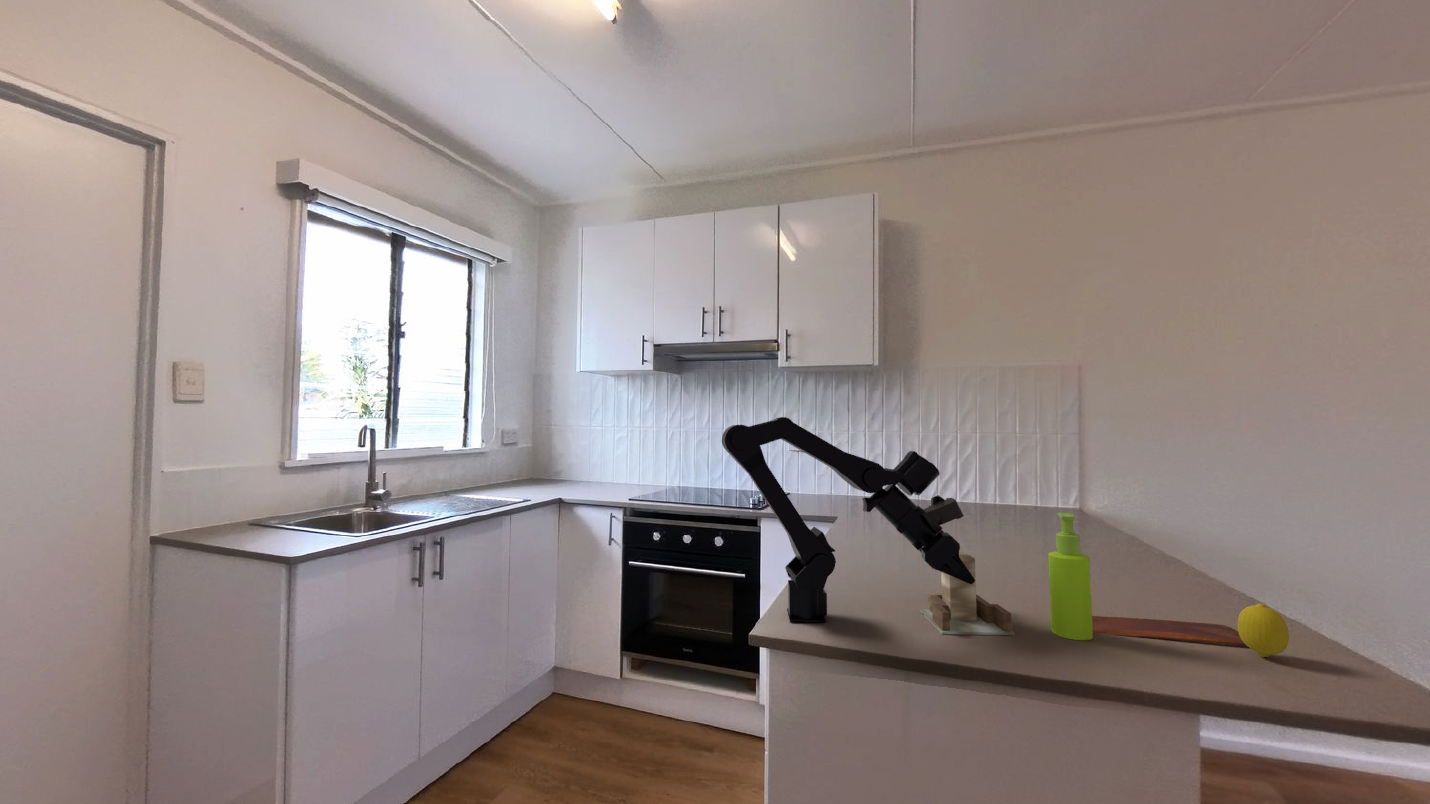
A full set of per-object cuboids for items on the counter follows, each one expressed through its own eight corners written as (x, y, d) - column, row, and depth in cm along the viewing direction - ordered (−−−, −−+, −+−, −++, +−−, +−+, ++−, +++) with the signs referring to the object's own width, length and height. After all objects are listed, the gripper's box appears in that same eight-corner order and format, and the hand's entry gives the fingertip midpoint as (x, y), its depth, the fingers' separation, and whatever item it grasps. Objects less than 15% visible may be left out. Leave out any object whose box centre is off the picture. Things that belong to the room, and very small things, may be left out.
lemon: (1296, 668, 79) (1293, 611, 79) (1244, 660, 82) (1241, 605, 82) (1283, 655, 84) (1280, 601, 84) (1234, 647, 86) (1231, 596, 87)
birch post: (950, 620, 98) (949, 557, 99) (942, 611, 103) (940, 552, 103) (976, 620, 98) (975, 558, 98) (966, 612, 102) (965, 552, 103)
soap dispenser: (1088, 628, 95) (1083, 511, 96) (1096, 642, 89) (1090, 517, 90) (1048, 623, 97) (1044, 510, 98) (1053, 637, 91) (1048, 515, 92)
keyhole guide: (941, 634, 93) (941, 613, 93) (919, 611, 104) (919, 593, 104) (1014, 635, 92) (1014, 614, 92) (984, 612, 104) (983, 593, 104)
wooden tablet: (1228, 631, 95) (1228, 621, 95) (1266, 653, 86) (1265, 642, 86) (1053, 615, 103) (1053, 606, 103) (1069, 634, 94) (1069, 624, 94)
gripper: (944, 488, 93) (1017, 557, 90) (924, 478, 111) (984, 535, 109) (897, 533, 94) (967, 602, 92) (884, 516, 113) (943, 573, 110)
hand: (966, 575), depth 100 cm, fingers open, 9 cm apart
